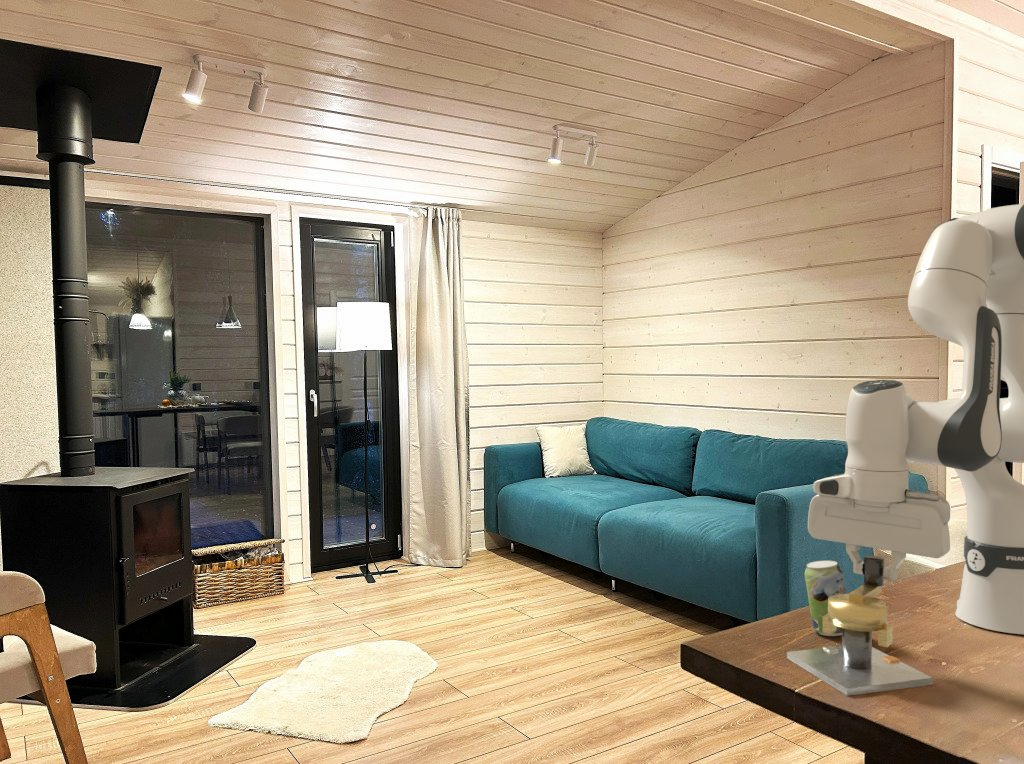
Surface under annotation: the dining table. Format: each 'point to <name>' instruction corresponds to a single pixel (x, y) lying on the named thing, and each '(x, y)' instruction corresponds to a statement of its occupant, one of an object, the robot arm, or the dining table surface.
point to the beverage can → (823, 590)
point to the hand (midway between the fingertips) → (875, 576)
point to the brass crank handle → (862, 605)
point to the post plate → (858, 677)
